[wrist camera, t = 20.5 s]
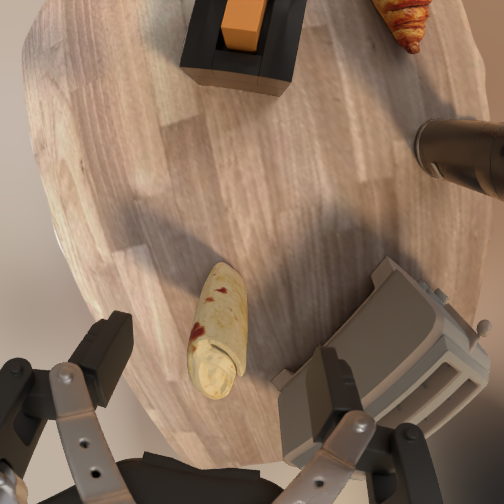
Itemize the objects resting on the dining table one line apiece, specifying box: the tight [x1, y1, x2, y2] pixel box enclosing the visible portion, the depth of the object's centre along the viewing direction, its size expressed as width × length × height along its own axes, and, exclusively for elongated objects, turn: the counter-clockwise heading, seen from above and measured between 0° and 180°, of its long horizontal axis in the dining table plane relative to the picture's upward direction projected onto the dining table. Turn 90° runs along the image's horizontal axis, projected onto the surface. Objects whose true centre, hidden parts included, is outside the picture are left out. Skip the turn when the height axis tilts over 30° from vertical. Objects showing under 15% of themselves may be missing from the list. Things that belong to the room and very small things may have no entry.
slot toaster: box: [180, 0, 307, 97], centre depth 29 cm, size 12×16×12 cm
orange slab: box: [221, 0, 268, 55], centre depth 23 cm, size 3×10×10 cm, turn 169°
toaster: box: [271, 256, 492, 481], centre depth 42 cm, size 19×35×20 cm, turn 145°
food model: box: [187, 262, 248, 399], centre depth 38 cm, size 10×7×20 cm
